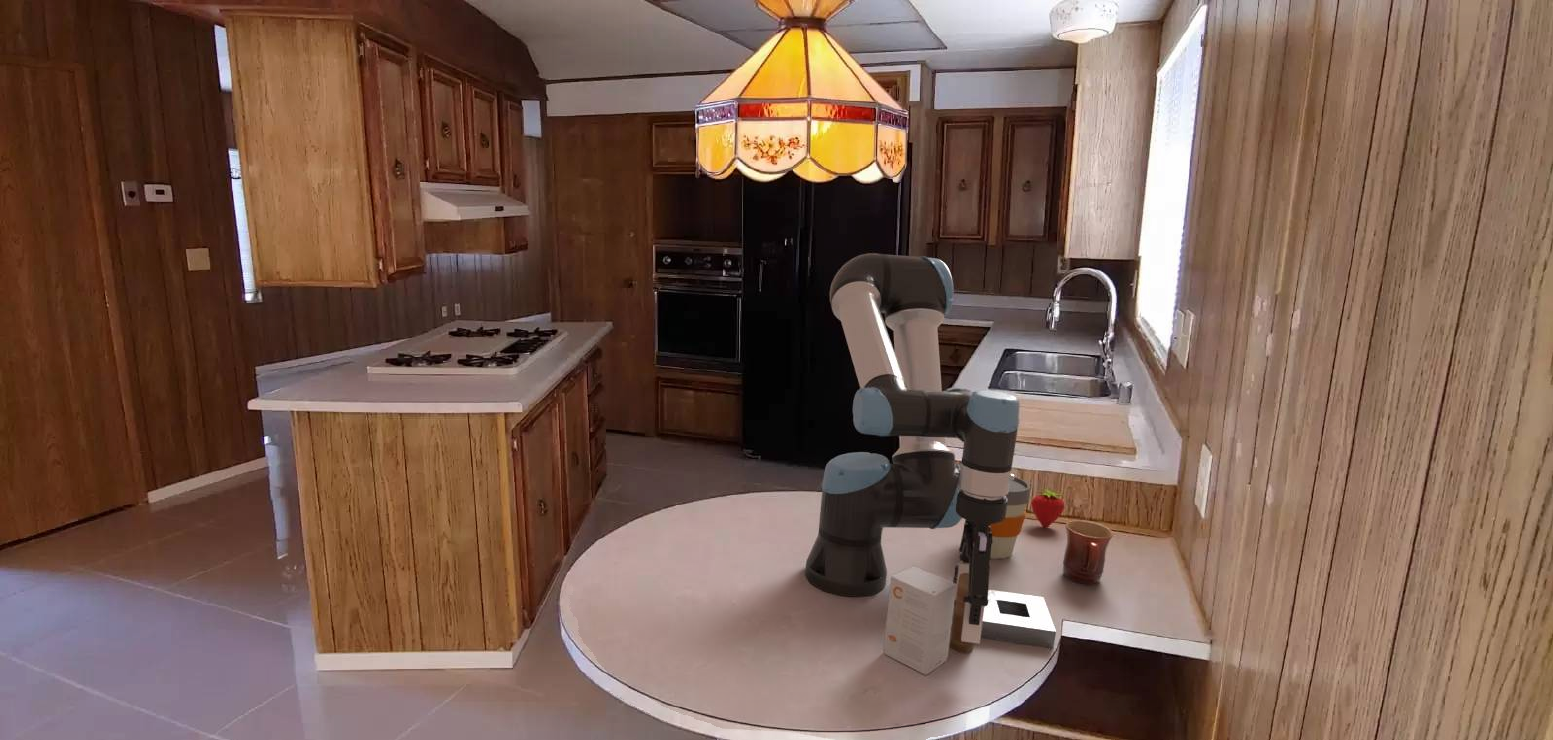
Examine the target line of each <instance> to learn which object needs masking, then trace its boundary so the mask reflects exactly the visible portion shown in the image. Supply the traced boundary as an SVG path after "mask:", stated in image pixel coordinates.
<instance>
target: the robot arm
mask: <svg viewBox="0 0 1553 740" xmlns="http://www.w3.org/2000/svg"><path fill="white" fill-rule="evenodd" d="M954 289H955V288H954V281H953V276H952V274H951V271H950V268H949V267H948V265H947V264H946V263H945V262H944V261H942V260H941V259H940V258H934V257H927V256H925V255H919V256H918V255H917V256H912V255H909V256H908V255H898V254H897V255H896V254H895V255H894V254H885V253H875V252H872V253H870V252H869V253H865V254H864V253H863V254H859V255H857V256H855V257H853V258H851V259H850V260H848V261H847V262H845V263H844V264H843V265H842V266H841V268H840V269H838V271H837V272H836V274H835V275H834V278H833V280H832V281H831V284H830V290H829V302H830V307H831V311H832V313H833V315H834V317H836V318H837V319H838V320H839V321H840V322H841V325H842V326H841V327H842V330H843V333H844V336H845V339H846V344H847V346H848V350H849V353H850V356H851V361H852V363H853V366H854V371H855V374H856V377H857V380H858V385H859V389H858V390H856V393H855V394H854V398H853V402H852V403H853V404H852V415H853V417H852V418H853V419H852V421H853V426H854V428H855V429H856V431H857V432H859V433H860V434H864V435H872V436H877V437H898V439H899V448H898V449H897V451H896V452H894V454H893V455H892V456H891V457H892V463H891V462H890V460H889V459H888V458H887V457H886V456H884V455H883V454H879V453H875V452H874V453H870V452H867V451H858V452H857V451H856V452H847V453H844V454H840V455H837V456H835V457H834V458H831V459H830V460H829V461H828V462H827V464H826V465H825V469H824V473H823V480H822V482H821V488H822V489H821V490H822V491H821V501H820V512H819V521H818V534H817V537H816V539H815V540H814V544H813V545H812V548H811V550H810V552H809V554H808V556H807V559H806V562H805V572H804V573H805V577H806V579H807V581H808V582H809V583H811V584H812V585H813V586H815V587H816V588H818V589H820V590H822V591H824V592H827V593H830V594H834V595H839V596H846V597H864V596H870V595H873V594H877V593H878V592H881V591H882V590H884V589H885V587H886V583H887V578H888V577H887V575H888V568H887V565H886V561H885V555H884V550H883V547H882V535H883V530H884V529H885V528H895V529H896V528H897V529H899V528H900V529H902V528H903V529H904V528H905V529H907V528H908V529H909V528H911V529H912V528H913V529H919V528H920V529H921V528H922V529H930V530H937V529H943V528H945V529H946V528H954V526H956V525H958V524H959V523H960V521H961V520H962V519H964V524H963V529H962V530H963V531H962V536H961V540H960V546H959V547H958V551H959V553H960V554H959V557H958V558H959V562H958V564H959V569H958V577H957V585H956V593H955V600H956V597H957V590H958V582H959V575H960V574H962V573H969V583H968V597H963V602H966V603H965V611H964V619H963V627H962V635H961V641H965V642H971V643H974V644H980V643H981V639H982V638H981V630H982V623H983V615H984V608H985V606H987V605H988V590H989V588H990V587H989V586H990V585H989V583H990V569H991V567H990V566H991V558H990V554H991V545H992V543H993V540H992V532H990V526H989V525H991V524H994V523H995V524H997V523H1000V522H1002V521H1004V519H1005V516H1006V509H1007V501H1008V499H1007V497H1006V496H1005V495H1007V494H1008V491H1009V480H1010V481H1012V480H1014V478H1015V477H1016V476H1015V475H1014V474H1012V467H1013V463H1014V462H1013V461H1014V455H1015V448H1016V442H1017V435H1018V428H1019V425H1020V418H1019V417H1020V416H1019V415H1020V406H1021V405H1020V400H1018V398H1017V397H1016V396H1015V395H1012V394H1010V393H1005V392H1001V391H995V390H975V391H971V390H970V389H968V388H962V387H956V386H955V387H954V386H953V387H949V388H946V389H945V390H943V391H942V375H941V361H940V350H939V349H940V347H939V336H938V335H939V333H938V328H939V327H940V326H941V324H942V323H943V322H944V321H945V316H946V315H948V314H949V312H950V311H951V310H952V306H953V304H954V303H953V302H954V299H953V296H955V295H954V293H955V292H954ZM883 314H884V318H883ZM886 326H887V327H888V328H889V329H891V330H892V332H893V342H894V343H892V341H891V339H890V335H889V333H888V329H887V327H886ZM893 346H894V347H893ZM946 438H947V439H948V438H950V439H958V440H960V441H961V442H962V443H963V445H962V446H963V447H962V457H961V461H960V464H956V455H955V452H954V451H953V450H951V449H950V448H949V447H948V445H946ZM978 595H979V596H978Z"/></svg>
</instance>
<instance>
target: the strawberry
mask: <svg viewBox="0 0 1553 740" xmlns="http://www.w3.org/2000/svg"><path fill="white" fill-rule="evenodd" d="M1049 485H1050V487H1051V490H1052V491H1050V490H1048V489H1046V490H1045V492H1043V491H1042V492H1041V491H1040V492H1039V491H1038V492H1037V493H1038V495H1036V496H1034V497H1033V498H1032V501H1031V508H1032V512H1033V514H1034V516H1035V517H1036V519H1037V520H1038V522H1039V523H1040V524H1041V526H1042V527H1043V528H1049V527H1050V526H1051V525H1052V524H1053V523H1055V521H1057V519H1058V518H1059V517H1061V516H1062V513H1063V511H1064V510H1065V501H1064V500H1063V499H1062V498H1061V496H1063V494H1060V493H1055V492H1054V489H1053V487H1052V484H1049Z"/></svg>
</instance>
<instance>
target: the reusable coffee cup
mask: <svg viewBox="0 0 1553 740" xmlns="http://www.w3.org/2000/svg"><path fill="white" fill-rule="evenodd" d="M1014 477H1015V478H1014V480H1012V481H1010V480H1009V491H1008V494H1007V495H1005V496H1006V497H1007V499H1008V501H1007V509H1006V516H1005V519H1004V521H1002V522H1000V523H997V524H995V523H994V524H991V525H989V526H990V532H992V540H993V543H992V545H991V554H990V559H997V558H1001V559H1006V558H1007V557H1008V558H1009V556H1010V557H1011V556H1012V554H1013V551H1014V548H1015V544H1016V542H1017V539H1018V536H1019V535H1020V534H1021V532H1022V528H1023V525H1024V522H1025V518H1026V515H1027V511H1026V507H1027V503H1029V502H1030V495H1031V494H1030V493H1031V491H1030V490H1031V487H1030V484H1029V483H1028V482H1027V481H1025V480H1024V479H1022V478H1020V477H1017V476H1014Z"/></svg>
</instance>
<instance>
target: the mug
mask: <svg viewBox="0 0 1553 740" xmlns="http://www.w3.org/2000/svg"><path fill="white" fill-rule="evenodd" d="M1065 530H1066V538H1067V539H1066V546H1065V550H1064V556H1063V561H1062V567H1063V568H1062V569H1063V570H1062V571H1063V573H1064V575H1065V576H1066V577H1067V579H1069V580H1071V581H1074V582H1076V583H1078V584H1083V585H1093V584H1096V583H1099V582H1100V580H1101V579H1102V576H1103V574H1104V568H1105V562H1106V553H1107V549H1108V546H1109V544H1110V542H1111V540H1112V539H1113V536H1114V532H1113V530H1112V529H1110V528H1108V527H1107V526H1104V525H1102V524H1100V523H1097V522H1093V521H1089V520H1082V519H1081V520H1080V519H1079V520H1077V519H1076V520H1075V519H1074V520H1069V521H1067V522H1066V523H1065Z"/></svg>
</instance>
